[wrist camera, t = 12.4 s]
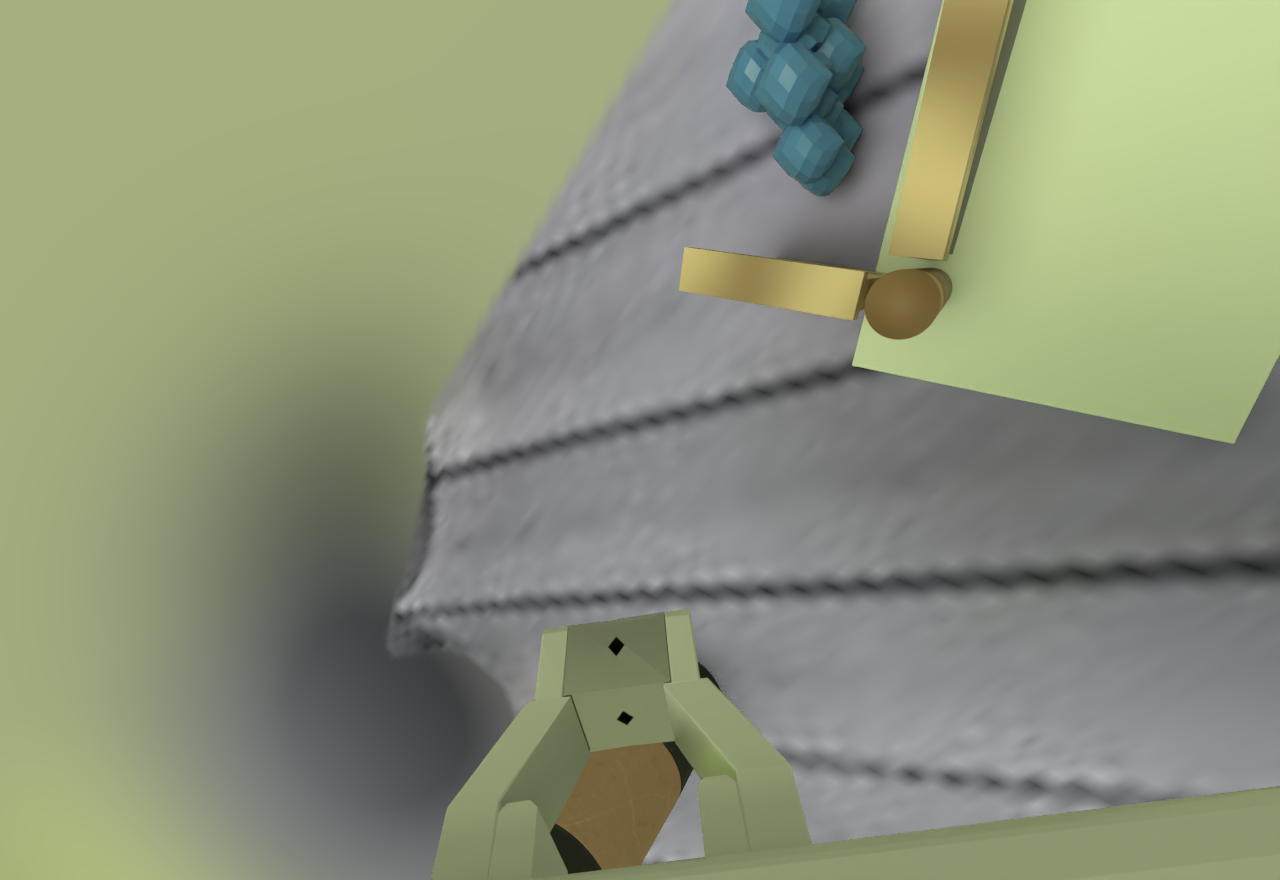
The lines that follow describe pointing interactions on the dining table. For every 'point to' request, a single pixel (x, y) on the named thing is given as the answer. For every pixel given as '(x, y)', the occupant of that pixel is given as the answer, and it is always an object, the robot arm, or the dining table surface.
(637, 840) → the travel mug
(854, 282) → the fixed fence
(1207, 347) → the board
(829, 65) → the grapes
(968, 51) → the gate panel
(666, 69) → the dining table surface
